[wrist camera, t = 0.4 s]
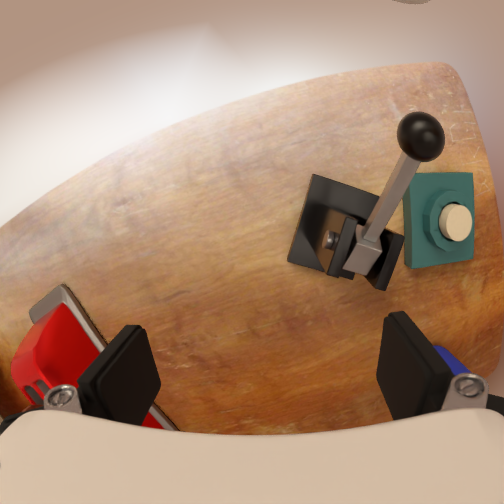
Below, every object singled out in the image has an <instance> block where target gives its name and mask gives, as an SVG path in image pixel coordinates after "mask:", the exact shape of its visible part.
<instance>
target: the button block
mask: <svg viewBox="0 0 504 504" xmlns="http://www.w3.org/2000/svg"><path fill="white" fill-rule="evenodd" d="M449 204H457V205H462V206H465V207H466V208H467V209H468V210H469V212H470V214H471V217H472V227H471V231H470V233H469V235H468V236H467V237H466V238H465V239H464V240H462V241H454V240H452V239H449V238H447V237H445V236H444V235H443V234H442V232H441V230H440V227H439V217H440V213H441V211H442V210H443V208H444V207H445V206H447V205H449ZM403 211H404V236H405V265H407V266H408V267H410V268H411V269H415V268H422V267H428V266H434V265H440V264H446V263H452V262H458V261H463V260H469V259H473V253H474V186H473V173H468V172H444V173H415V174H414V176H413V178H412V180H411V182H410V184H409V186H408V188H407V189H406V191H405V193H404V195H403Z"/></svg>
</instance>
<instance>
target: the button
mask: <svg viewBox="0 0 504 504" xmlns="http://www.w3.org/2000/svg"><path fill="white" fill-rule="evenodd" d="M439 227H440V230H441V232H442V234H443V235H444V236H445V237H447V238H449V239H452V240H454V241H462V240H464V239H465V238H466V237H467V236H468V235H469V233H470V231H471V227H472V217H471V214H470V212H469V210H468V209H467V208H466V207H465V206H462V205H457V204H449V205H447V206H445V207H444V208H443V210H442V211H441V213H440V217H439Z"/></svg>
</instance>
